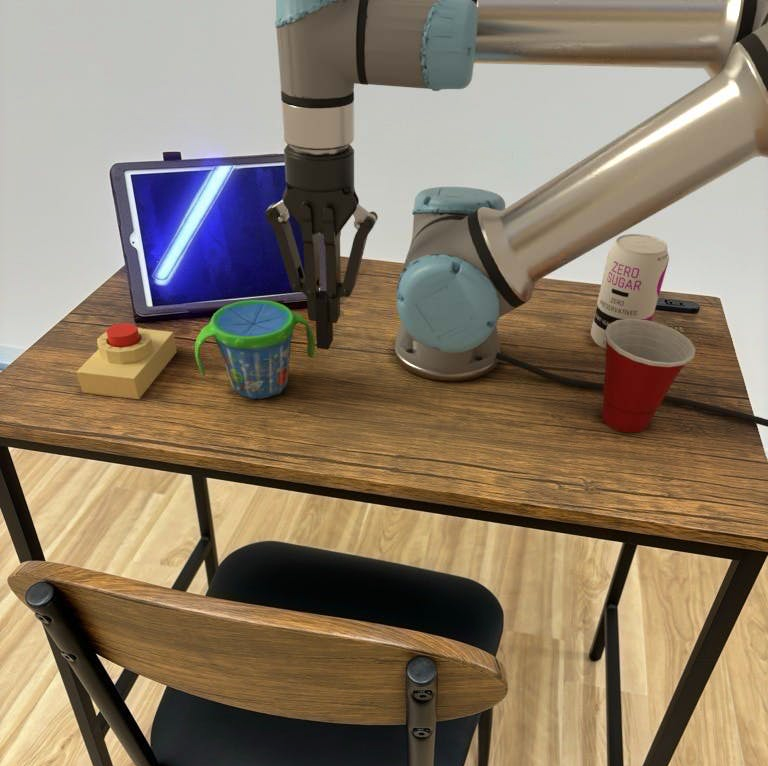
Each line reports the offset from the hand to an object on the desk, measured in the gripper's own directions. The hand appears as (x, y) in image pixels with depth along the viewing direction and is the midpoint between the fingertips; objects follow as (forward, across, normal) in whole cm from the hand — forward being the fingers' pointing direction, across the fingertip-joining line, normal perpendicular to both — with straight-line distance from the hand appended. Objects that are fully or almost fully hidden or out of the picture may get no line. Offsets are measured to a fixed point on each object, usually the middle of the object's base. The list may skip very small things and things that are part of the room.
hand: (325, 343), depth 94 cm
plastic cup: (+8, -40, -2) cm, 40 cm away
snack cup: (+8, +9, 0) cm, 12 cm away
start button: (+3, +28, 0) cm, 28 cm away
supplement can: (+8, -40, -24) cm, 47 cm away
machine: (+8, +28, 0) cm, 29 cm away
